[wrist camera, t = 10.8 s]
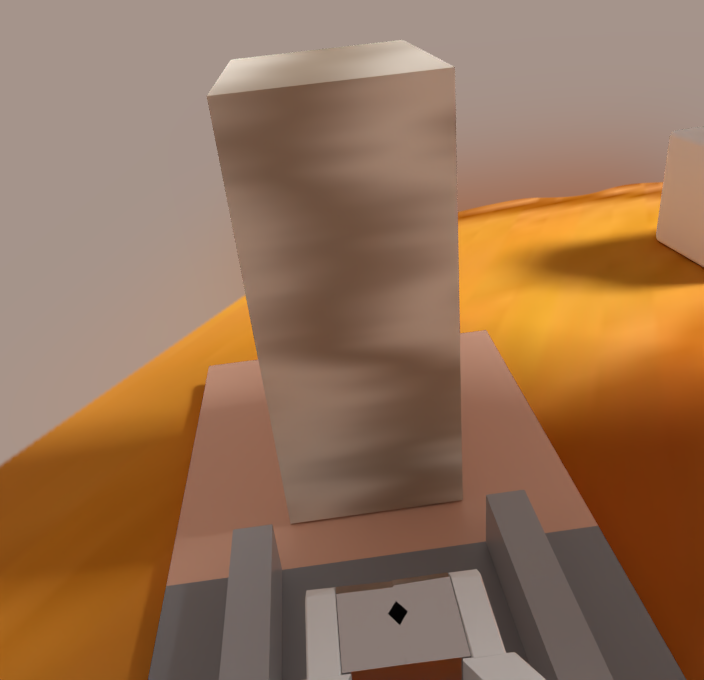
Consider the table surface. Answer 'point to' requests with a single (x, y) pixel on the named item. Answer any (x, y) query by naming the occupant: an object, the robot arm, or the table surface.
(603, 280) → the table surface
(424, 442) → the block
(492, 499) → the chute
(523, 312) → the table surface
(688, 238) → the medicine bottle
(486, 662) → the robot arm
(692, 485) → the table surface
